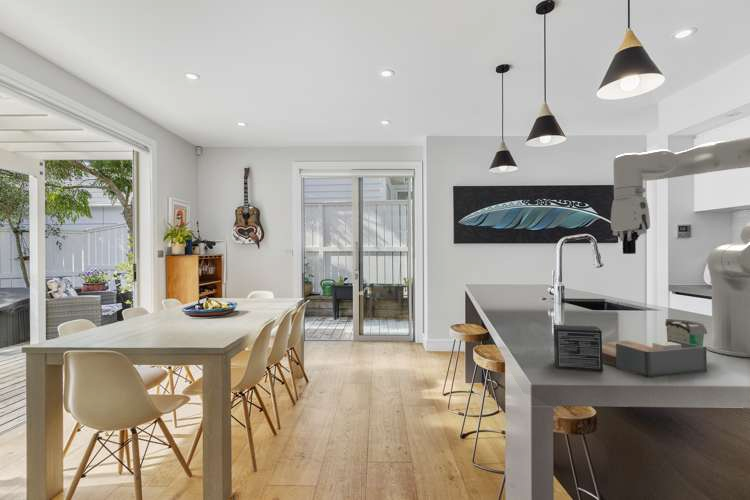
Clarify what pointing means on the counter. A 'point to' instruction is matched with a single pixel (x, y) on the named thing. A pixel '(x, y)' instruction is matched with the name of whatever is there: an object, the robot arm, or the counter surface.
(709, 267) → the robot arm
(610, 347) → the walnut board
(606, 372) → the counter surface
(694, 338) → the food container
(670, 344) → the cream tile
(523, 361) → the counter surface
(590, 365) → the small box
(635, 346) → the terracotta tile
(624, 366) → the tray
